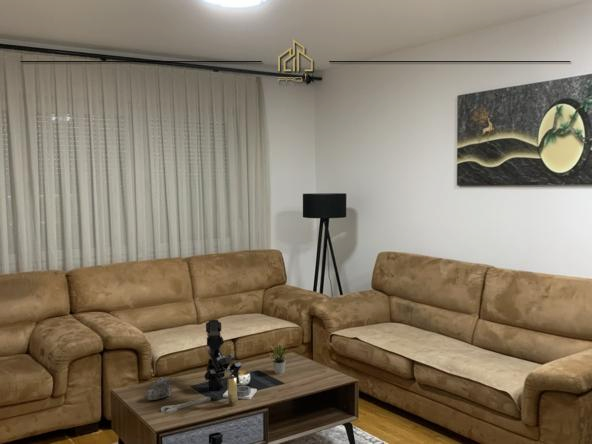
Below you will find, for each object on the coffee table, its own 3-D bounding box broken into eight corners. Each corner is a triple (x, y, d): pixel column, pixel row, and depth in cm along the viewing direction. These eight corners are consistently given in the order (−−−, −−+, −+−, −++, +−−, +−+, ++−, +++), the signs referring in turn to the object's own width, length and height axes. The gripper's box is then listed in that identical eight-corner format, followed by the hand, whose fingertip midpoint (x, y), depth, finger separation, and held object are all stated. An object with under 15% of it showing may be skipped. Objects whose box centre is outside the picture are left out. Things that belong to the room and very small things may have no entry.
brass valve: (227, 405, 271) (225, 376, 270) (230, 402, 275) (229, 373, 274) (235, 406, 270) (234, 377, 269) (239, 402, 274) (237, 373, 273)
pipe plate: (222, 397, 282) (222, 390, 281) (230, 389, 293) (230, 382, 292) (249, 399, 278) (249, 392, 278) (256, 391, 289) (256, 384, 289)
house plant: (264, 368, 324) (263, 340, 323) (288, 366, 326) (287, 338, 325) (267, 376, 310) (266, 347, 309) (292, 374, 312) (292, 345, 311)
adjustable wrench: (209, 399, 281) (209, 395, 281) (214, 403, 276) (214, 400, 276) (159, 410, 268) (159, 406, 268) (164, 415, 262) (164, 411, 262)
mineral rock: (147, 403, 276) (146, 383, 275) (144, 395, 286) (143, 376, 285) (173, 399, 280) (173, 379, 280) (170, 391, 290) (169, 372, 290)
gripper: (207, 353, 270) (220, 382, 262) (239, 345, 282) (253, 372, 274) (198, 365, 276) (211, 394, 269) (230, 357, 288) (243, 384, 281)
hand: (230, 386), depth 273 cm, fingers open, 9 cm apart
